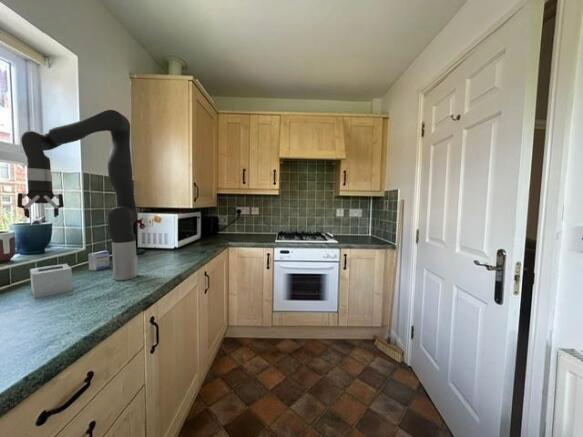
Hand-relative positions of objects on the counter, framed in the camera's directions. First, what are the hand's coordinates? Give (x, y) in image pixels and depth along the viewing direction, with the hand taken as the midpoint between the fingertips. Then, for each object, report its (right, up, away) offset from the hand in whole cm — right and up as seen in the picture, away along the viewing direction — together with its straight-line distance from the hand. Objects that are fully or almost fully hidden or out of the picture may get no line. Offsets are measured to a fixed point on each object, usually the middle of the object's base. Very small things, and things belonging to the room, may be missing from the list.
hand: (42, 217), depth 111 cm
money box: (+13, -29, -9) cm, 34 cm away
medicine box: (+8, -27, +23) cm, 36 cm away
